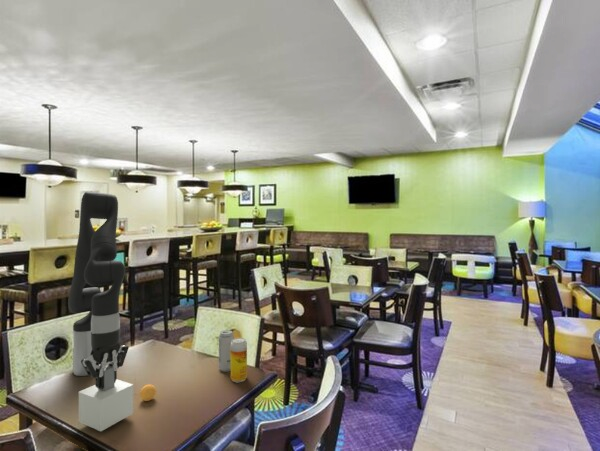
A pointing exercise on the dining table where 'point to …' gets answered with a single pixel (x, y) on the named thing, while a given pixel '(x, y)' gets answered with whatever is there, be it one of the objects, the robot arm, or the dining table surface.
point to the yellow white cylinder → (238, 359)
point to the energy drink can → (225, 350)
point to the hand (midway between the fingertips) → (106, 385)
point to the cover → (106, 402)
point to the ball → (147, 392)
